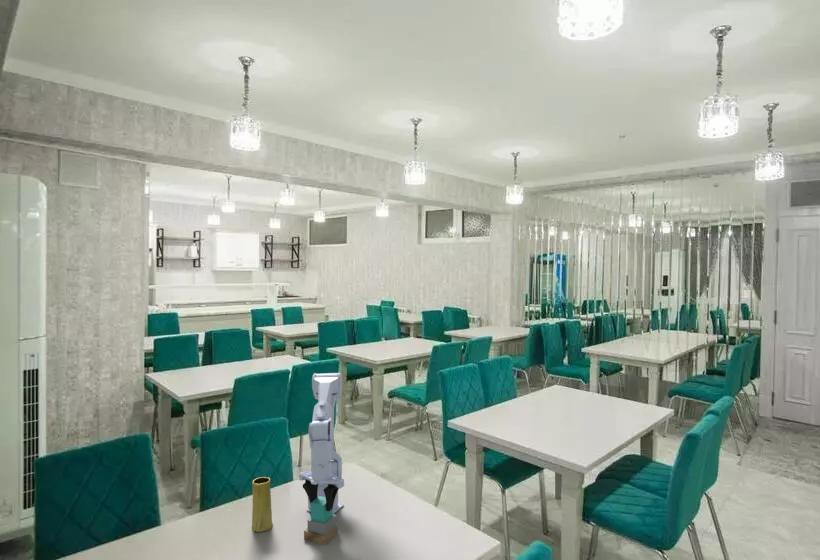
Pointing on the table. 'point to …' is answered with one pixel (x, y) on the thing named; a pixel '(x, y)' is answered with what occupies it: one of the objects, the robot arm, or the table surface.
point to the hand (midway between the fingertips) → (321, 507)
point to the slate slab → (322, 525)
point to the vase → (261, 505)
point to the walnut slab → (320, 536)
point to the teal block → (320, 510)
